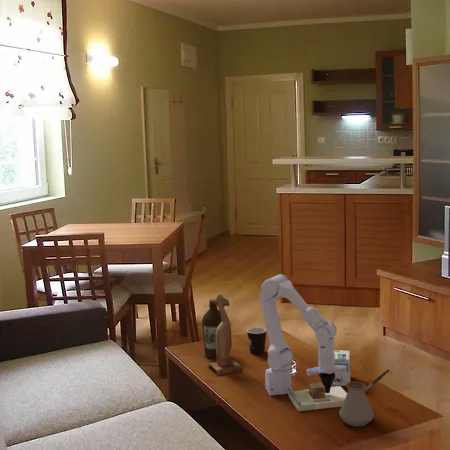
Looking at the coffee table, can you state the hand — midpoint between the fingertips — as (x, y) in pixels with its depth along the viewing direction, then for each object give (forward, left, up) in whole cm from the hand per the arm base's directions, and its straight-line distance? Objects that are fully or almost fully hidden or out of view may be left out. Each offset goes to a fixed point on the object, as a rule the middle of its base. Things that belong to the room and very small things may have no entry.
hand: (327, 392), depth 245 cm
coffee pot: (+8, -18, -3) cm, 20 cm away
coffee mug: (-13, +59, -3) cm, 60 cm away
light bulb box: (+11, +16, -3) cm, 20 cm away
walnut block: (-4, 0, -1) cm, 4 cm away
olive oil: (-32, +59, -3) cm, 67 cm away
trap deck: (-3, 0, -3) cm, 4 cm away
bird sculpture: (-31, +41, -3) cm, 51 cm away
